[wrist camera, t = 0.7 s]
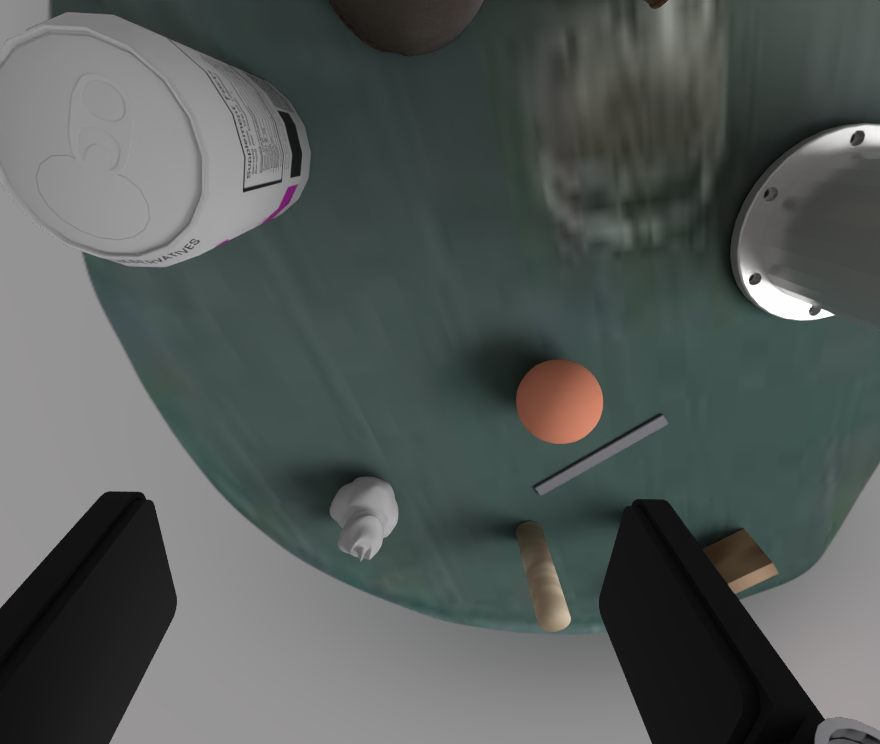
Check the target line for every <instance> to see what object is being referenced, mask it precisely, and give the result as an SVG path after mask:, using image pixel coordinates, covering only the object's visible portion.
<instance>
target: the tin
mask: <svg viewBox="0 0 880 744" xmlns="http://www.w3.org/2000/svg"><path fill="white" fill-rule="evenodd" d="M644 1H646V2H648V3H649V5H650V7H651V8H653V9H656V8H659V7H661V6H662V5H663V4H665V3H666V2H667V1H668V0H644Z"/></svg>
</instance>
